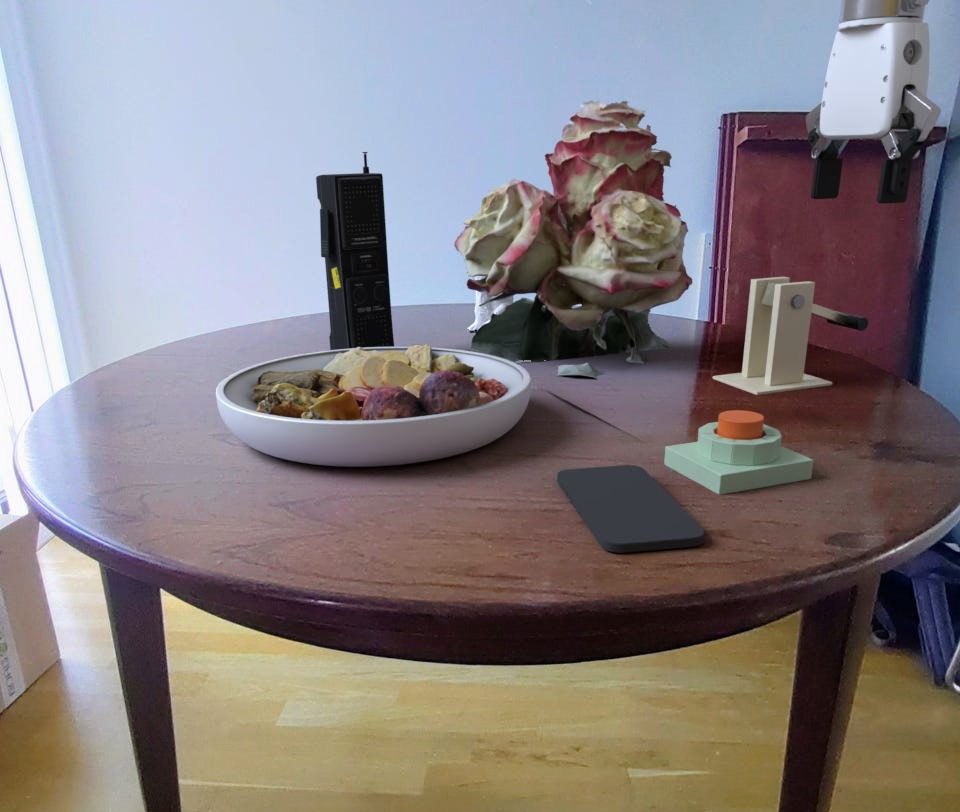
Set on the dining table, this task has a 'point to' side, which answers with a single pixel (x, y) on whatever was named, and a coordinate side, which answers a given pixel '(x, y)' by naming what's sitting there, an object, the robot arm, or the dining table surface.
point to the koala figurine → (487, 307)
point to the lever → (823, 312)
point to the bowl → (374, 404)
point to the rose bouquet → (580, 247)
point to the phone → (628, 509)
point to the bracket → (776, 339)
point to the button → (740, 425)
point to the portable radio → (355, 259)
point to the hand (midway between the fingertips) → (856, 200)
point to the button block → (737, 461)
